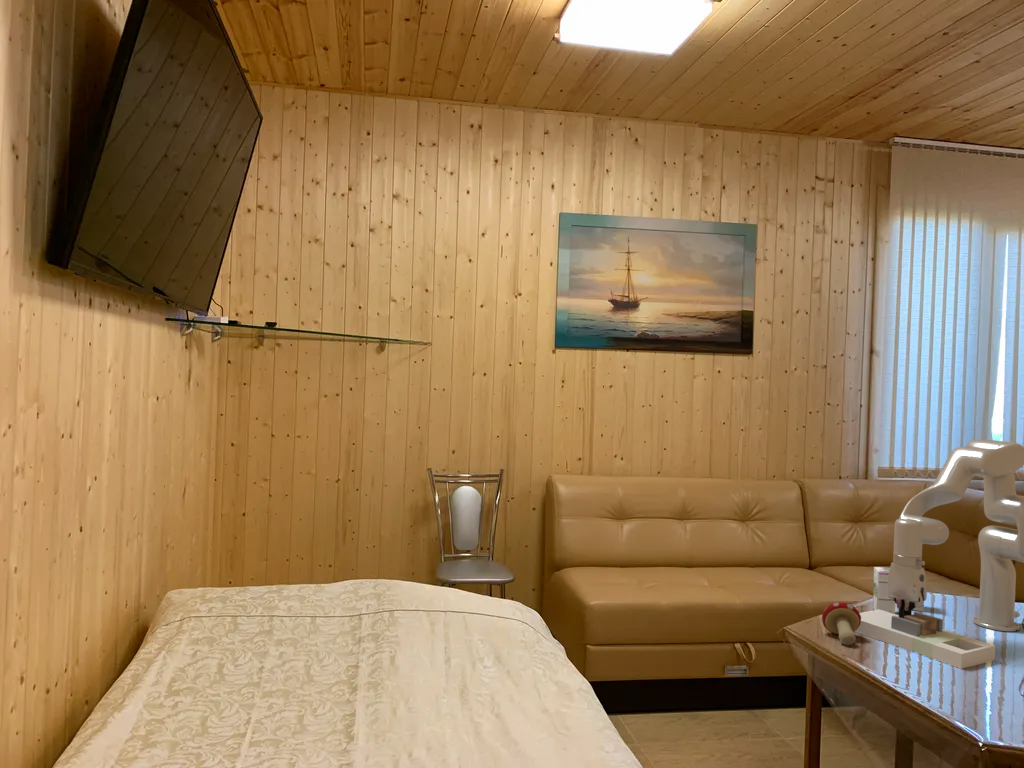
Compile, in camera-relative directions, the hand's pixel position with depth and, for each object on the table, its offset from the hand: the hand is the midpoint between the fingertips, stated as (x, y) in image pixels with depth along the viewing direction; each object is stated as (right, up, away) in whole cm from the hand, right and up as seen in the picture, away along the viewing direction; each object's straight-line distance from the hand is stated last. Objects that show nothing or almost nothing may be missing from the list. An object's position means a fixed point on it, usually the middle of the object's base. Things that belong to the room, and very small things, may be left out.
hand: (904, 622), depth 230 cm
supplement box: (+19, -6, +34) cm, 39 cm away
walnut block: (+2, -1, -5) cm, 5 cm away
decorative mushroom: (-19, -5, -1) cm, 20 cm away
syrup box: (+7, -5, +27) cm, 28 cm away
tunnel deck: (+2, -5, -3) cm, 6 cm away
